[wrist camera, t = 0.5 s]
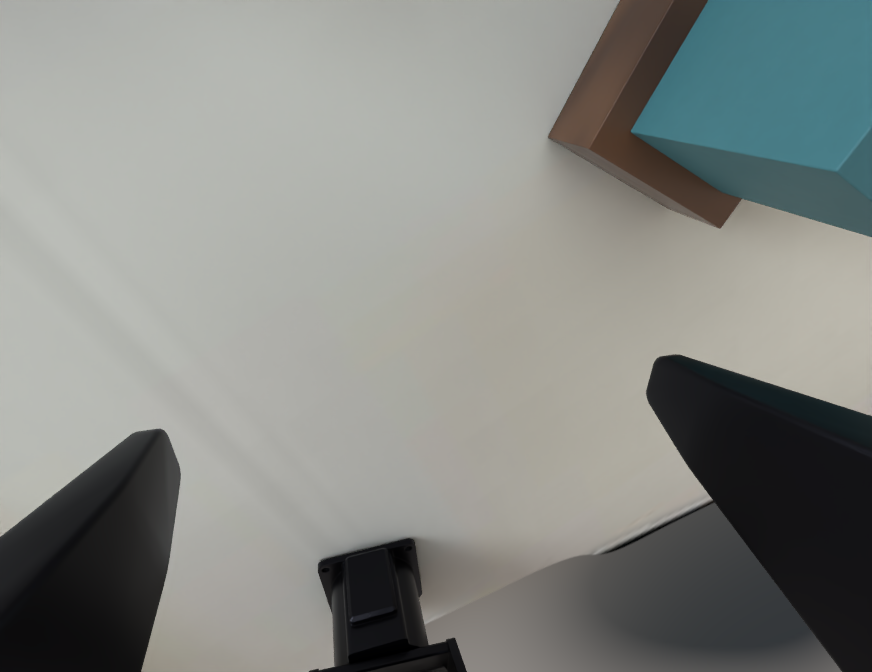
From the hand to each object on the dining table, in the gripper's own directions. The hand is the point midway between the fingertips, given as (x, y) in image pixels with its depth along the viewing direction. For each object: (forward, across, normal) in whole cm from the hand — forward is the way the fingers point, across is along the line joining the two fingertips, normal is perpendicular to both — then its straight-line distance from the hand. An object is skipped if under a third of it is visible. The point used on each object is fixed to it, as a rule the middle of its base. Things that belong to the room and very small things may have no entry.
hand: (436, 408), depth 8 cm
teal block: (+10, -14, -5) cm, 18 cm away
